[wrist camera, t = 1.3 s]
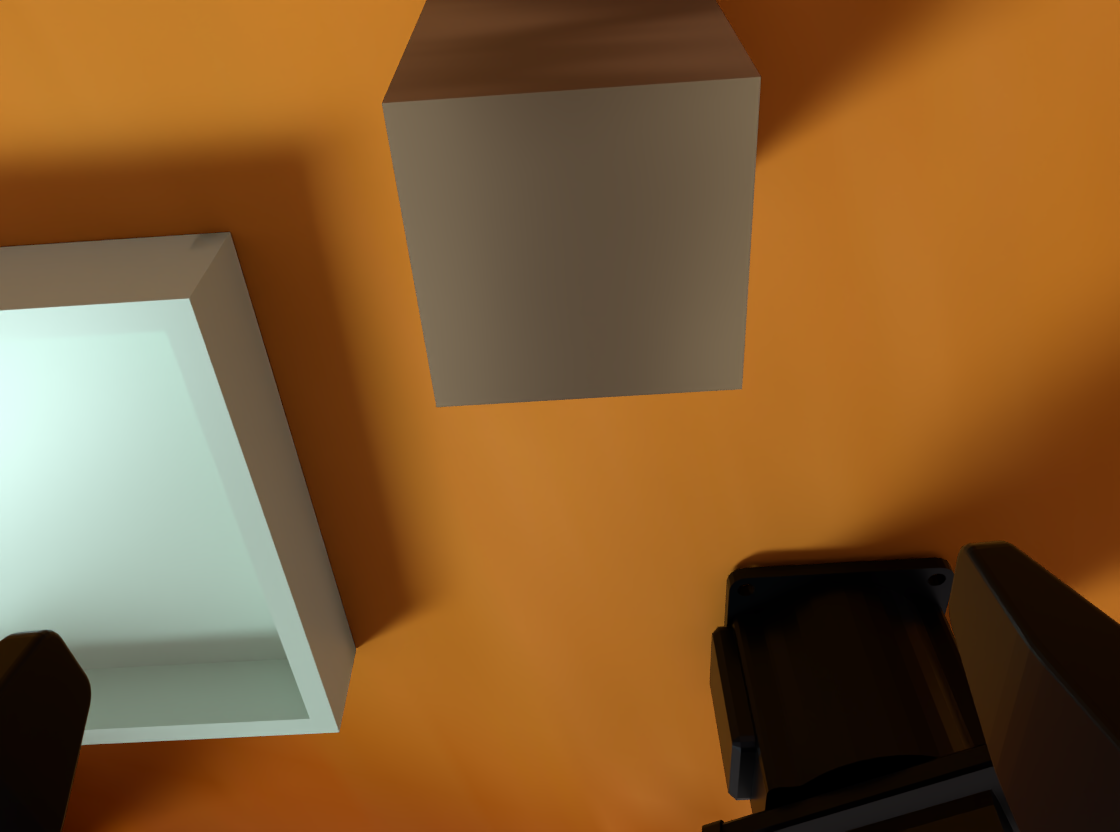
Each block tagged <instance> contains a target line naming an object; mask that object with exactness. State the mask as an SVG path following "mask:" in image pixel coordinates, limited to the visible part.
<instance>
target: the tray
mask: <svg viewBox="0 0 1120 832" xmlns="http://www.w3.org/2000/svg"><path fill="white" fill-rule="evenodd" d="M45 629H47V630H52V631H54V632H56V633H57V634H59V635H60V636H61V638H62V639H63V640H64V642H65V643H66V645H67V646H68V648H69V649H70V651H71V652H72V654H73V655H74V657H75V658H76V660H77V661H78V663H79V664H80V666H81V667H82V669H83V670H84V672H85V673H86V675H87V677H88V679H89V682H90V685H91V704H90V709H89V713H88V717H87V722H86V726H85V731H84V735H83V740H82V744H81V745H91V744H111V743H131V742H151V741H171V740H192V739H212V738H232V737H252V736H272V735H292V734H313V733H333V732H339V731H340V726H341V721H342V716H343V711H344V706H345V701H346V696H347V692H348V687H349V682H350V677H351V672H352V667H353V662H354V657H355V653H356V648H355V644H354V641H353V638H352V635H351V631H350V628H349V625H348V621H347V618H346V615H345V611H344V608H343V605H342V601H341V598H340V595H339V591H338V588H337V585H336V581H335V578H334V575H333V572H332V568H331V565H330V562H329V558H328V555H327V552H326V548H325V545H324V542H323V538H322V535H321V532H320V528H319V525H318V522H317V518H316V515H315V512H314V509H313V505H312V502H311V499H310V495H309V492H308V489H307V485H306V482H305V479H304V475H303V472H302V469H301V465H300V462H299V459H298V455H297V452H296V449H295V445H294V442H293V439H292V436H291V432H290V429H289V426H288V422H287V419H286V416H285V412H284V409H283V406H282V402H281V399H280V396H279V392H278V389H277V386H276V382H275V379H274V376H273V373H272V369H271V366H270V363H269V359H268V356H267V353H266V349H265V346H264V343H263V339H262V336H261V333H260V329H259V326H258V323H257V319H256V316H255V313H254V310H253V306H252V303H251V300H250V296H249V293H248V290H247V286H246V283H245V280H244V276H243V273H242V270H241V266H240V263H239V260H238V256H237V253H236V250H235V247H234V243H233V240H232V237H231V233H230V232H221V233H206V234H191V235H176V236H161V237H146V238H131V239H116V240H101V241H86V242H71V243H56V244H41V245H26V246H10V247H0V641H1V640H2V639H4V638H5V637H6V636H8V635H10V634H13V633H16V632H24V631H34V630H45Z"/></svg>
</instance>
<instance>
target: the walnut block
mask: <svg viewBox="0 0 1120 832" xmlns="http://www.w3.org/2000/svg"><path fill="white" fill-rule="evenodd" d="M760 85H761V76H760V74H759V73H758V71H757V69H756V67H755V66H754V64H753V62H752V61H751V59H750V57H749V56H748V54H747V52H746V51H745V49H744V47H743V45H742V44H741V42H740V40H739V39H738V37H737V35H736V34H735V32H734V30H733V29H732V27H731V25H730V24H729V22H728V20H727V18H726V17H725V15H724V13H723V12H722V10H721V8H720V7H719V5H718V3H717V2H716V0H427V1H426V3H425V5H424V8H423V10H422V12H421V14H420V17H419V19H418V21H417V24H416V26H415V28H414V31H413V33H412V35H411V37H410V40H409V42H408V44H407V47H406V49H405V51H404V54H403V56H402V58H401V60H400V63H399V65H398V67H397V70H396V72H395V74H394V77H393V79H392V81H391V83H390V86H389V88H388V90H387V93H386V95H385V97H384V100H383V102H382V106H383V112H384V118H385V123H386V129H387V134H388V140H389V145H390V151H391V157H392V162H393V168H394V173H395V179H396V184H397V190H398V196H399V201H400V207H401V212H402V218H403V223H404V229H405V234H406V240H407V246H408V251H409V257H410V262H411V268H412V273H413V279H414V285H415V290H416V296H417V301H418V307H419V312H420V318H421V324H422V329H423V335H424V340H425V346H426V351H427V357H428V362H429V368H430V374H431V379H432V385H433V390H434V396H435V401H436V407H447V406H464V405H481V404H498V403H514V402H531V401H548V400H565V399H582V398H599V397H616V396H633V395H650V394H667V393H683V392H700V391H717V390H734V389H742V379H743V363H744V346H745V330H746V314H747V297H748V281H749V265H750V248H751V232H752V216H753V199H754V183H755V167H756V150H757V134H758V118H759V101H760Z"/></svg>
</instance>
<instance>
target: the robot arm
mask: <svg viewBox="0 0 1120 832" xmlns="http://www.w3.org/2000/svg"><path fill="white" fill-rule="evenodd" d="M934 574H936V575H934ZM932 575H933V576H932ZM744 584H749V585H746V586H741V585H744ZM950 593H951V594H950ZM949 597H950V600H949ZM948 601H949V615H950V621H951V626H952V629H953V633H954V635H953V633H952V631H951V628H950V626H949V624H948V622H947V619H946V617H945V612H946V608H947V605H948ZM954 636H955V638H954ZM710 688H711V694H712V699H713V705H714V711H715V717H716V723H717V729H718V735H719V741H720V747H721V753H722V759H723V765H724V771H725V777H726V783H727V789H728V793H729V794H730V795H731V796H732V797H734V798H735V799H736V800H750V803H751V808H752V814H751V815H748V816H744V817H741V818H738V819H735V820H731V821H728V822H725V823H724V822H723V821H722V820H719V821H716V822H712V823H709V824H706V825H703V826H702V832H1120V624H1118V623H1117V622H1116V621H1114V620H1113V619H1112V618H1110V617H1109V616H1108V615H1106V614H1105V613H1104V612H1102V611H1101V610H1100V609H1098V608H1097V607H1096V606H1094V605H1093V604H1092V603H1090V602H1089V601H1088V600H1086V599H1085V598H1084V597H1082V596H1081V595H1080V594H1078V593H1077V592H1076V591H1074V590H1073V589H1072V588H1070V587H1069V586H1068V585H1066V584H1065V583H1064V582H1062V581H1061V580H1060V579H1058V578H1057V577H1056V576H1054V575H1053V574H1052V573H1050V572H1049V571H1048V570H1046V569H1045V568H1044V567H1042V566H1041V565H1040V564H1038V563H1037V562H1036V561H1034V560H1033V559H1032V558H1030V557H1029V556H1028V555H1026V554H1025V553H1024V552H1022V551H1021V550H1020V549H1018V548H1017V547H1016V546H1014V545H1012V544H1010V543H1008V542H1005V541H991V542H980V543H969V544H966V545H964V546H963V547H962V548H961V549H960V551H959V553H958V557H957V562H956V567H955V573H953V571H952V569H951V566H950V564H949V563H948V562H947V560H944V559H942V558H920V559H901V560H883V561H864V562H846V563H827V564H809V565H791V566H772V567H754V568H742V569H738V570H736V571H734V572H732V573H731V574H730V575H729V576H728V579H727V587H726V604H725V621H724V626H723V627H717V629H716V630H715V631H714V632H713V633H712V644H711V665H710ZM90 704H91V685H90V682H89V679H88V677H87V675H86V673H85V672H84V670H83V669H82V667H81V666H80V664H79V663H78V661H77V660H76V658H75V657H74V655H73V654H72V652H71V651H70V649H69V648H68V646H67V645H66V643H65V642H64V640H63V639H62V638H61V636H60V635H59V634H57V633H56V632H54V631H52V630H47V629H45V630H34V631H24V632H16V633H13V634H10V635H8V636H6V637H5V638H4V639H2V640H1V641H0V832H62V828H63V824H64V820H65V816H66V811H67V807H68V802H69V798H70V794H71V789H72V785H73V780H74V776H75V771H76V767H77V762H78V758H79V753H80V749H81V744H82V740H83V735H84V731H85V726H86V722H87V717H88V713H89V709H90Z"/></svg>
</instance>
